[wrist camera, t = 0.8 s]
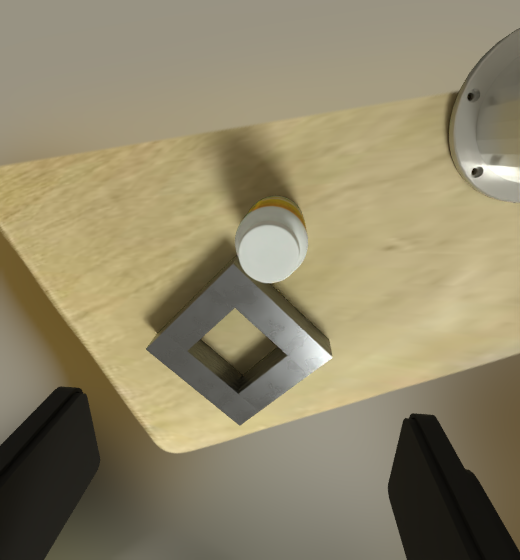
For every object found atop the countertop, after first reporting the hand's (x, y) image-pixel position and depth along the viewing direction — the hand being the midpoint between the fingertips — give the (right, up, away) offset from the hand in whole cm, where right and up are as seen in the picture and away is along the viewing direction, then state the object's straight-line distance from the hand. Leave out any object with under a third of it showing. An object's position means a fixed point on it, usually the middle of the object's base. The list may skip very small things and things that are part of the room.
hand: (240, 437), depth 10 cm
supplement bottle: (+2, +10, +21) cm, 23 cm away
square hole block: (-1, -1, +25) cm, 25 cm away
